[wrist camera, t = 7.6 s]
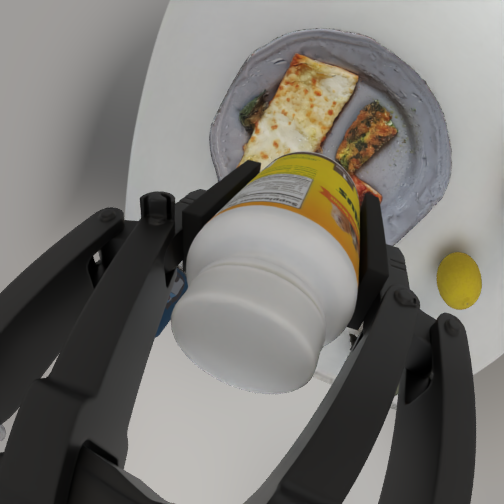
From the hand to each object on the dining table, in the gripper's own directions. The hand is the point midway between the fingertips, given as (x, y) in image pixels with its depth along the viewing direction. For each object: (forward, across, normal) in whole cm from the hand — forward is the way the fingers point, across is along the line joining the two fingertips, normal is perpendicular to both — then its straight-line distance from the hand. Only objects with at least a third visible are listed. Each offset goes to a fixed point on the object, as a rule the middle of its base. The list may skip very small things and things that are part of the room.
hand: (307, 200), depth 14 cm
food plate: (+16, 0, -1) cm, 16 cm away
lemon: (+16, +18, -8) cm, 25 cm away
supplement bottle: (+1, 0, 0) cm, 1 cm away
